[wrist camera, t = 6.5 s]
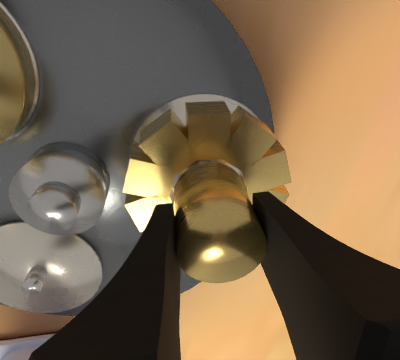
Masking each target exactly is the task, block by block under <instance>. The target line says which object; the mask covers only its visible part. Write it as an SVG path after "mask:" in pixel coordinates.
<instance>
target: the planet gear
mask: <svg viewBox="0 0 400 360" xmlns="http://www.w3.org/2000/svg"><path fill="white" fill-rule="evenodd" d="M185 110H186V126H185V125H184V124H183V122H182V121H181V120H180V119H179V117H178V116H177V115H176V114H175V113H174V111H173V110H172V109H171V108H170V109H168V110H167V111H166V112H164V113H163V114H162V115H161V116H159V117H158V118H157V119H155V120H154V121H153V122H152V123H150V124H149V125H148V126H146V127H145V128H144V129H143V130H141V133H140V139H139V144H137V143H133V146H132V150H131V155H130V159H129V163H128V168H127V172H126V177H125V182H124V187H123V193H127V194H126V200H125V207H126V208H127V210H128V212H129V214H130V215H131V217H132V219H133V220H134V222H135V224H136V226H137V227H138V229H139V231H140V232H142V231H144V229H145V227H146V225H147V223H148V221H149V219H150V217H151V214H152V212H153V209H154V207H155V206H156V205H157V204H165V203H173V207H174V214H175V228H176V251H177V260H178V263H179V265H180V267H181V268H182V270H183V271H184V272H185V273H186V274H188V275H189V276H190V277H192V278H194V279H196V280H199V281H203V282H208V283H224V282H229V281H233V280H236V279H239V278H241V277H243V276H245V275H247V274H248V273H250V272H251V271H253V270H254V269H255V268H256V267H257V266H258V265H259V264H260V262H261V261H262V259H263V257H264V255H265V253H266V248H267V242H266V237H265V234H264V232H263V230H262V227H261V225H260V222H259V220H258V218H257V215H256V213H255V210H254V208H253V206H252V198H253V193H258V192H266V191H269V192H270V193H271V194H273V195H274V196H275V197H276V198H278V199H279V200H280V201H281V202H283V203H284V204H285V202H286V200H287V198H288V196H289V193H288V191H287V190H286V188H285V186H284V184H287V183H290V182H291V177H290V172H289V167H288V162H287V157H286V153H285V150H284V148H283V147H282V146H281V145H280V143H279V142H278V141H277V138H276V136H275V135H274V134H273V133H272V131H271V130H270V129H269V127H268V126H267V125H266V124H264V123H263V122H262V121H260V120H259V119H257V118H256V117H255V116H253V115H252V114H250V113H249V112H248V111H246V110H245V109H243V108H242V107H241V106H239V105H238V106H237V108H236V109H235V110H234V112H233V113H232V114H231V112H230V110H229V109H228V107H227V105H226V103H225V101H209V102H185ZM217 159H222V160H224V161H226V162H227V163H229V164H231V165H232V166H234V167H236V168H237V169H239V171H240V176H239V174H238V173H237V172H236V171H235V170H234V169H232V168H231V167H229V166H227V165H225V164H222V163H217V162H206V163H201V164H198V165H195V166H193V167H191V168H189V169H188V170H186V171H185V172H184V173H183V174H182V175H181V176H180V177H179V179H178V180H177V182H176V184H175V187H174V188H173V186H172V185H173V182H174V179H175V176H176V175H177V174H178V173H179V172H181V171H182V170H184V169H185V168H186V167H188V166H189V165H191V164H192V163H194V162H195V161H199V160H217Z"/></svg>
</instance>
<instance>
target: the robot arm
mask: <svg viewBox="0 0 400 360" xmlns="http://www.w3.org/2000/svg"><path fill="white" fill-rule="evenodd" d="M252 206H253V208H254V210H255V213H256V215H257V218H258V220H259V222H260V225H261V227H262V230H263V232H264V234H265V237H266V242H267V248H266V253H265V255H264V257H263V259H262V261H261V262H260V263H261V265H262V267H263V270H264V272H265V275H266V277H267V279H268V282H269V284H270V286H271V289H272V291H273V293H274V296H275V298H276V300H277V303H278V305H279V307H280V310H281V312H282V315H283V318H284V321H285V324H286V327H287V330H288V333H289V336H290V340H291V343H292V346H293V349H294V353H295V356H296V360H400V269H398V268H395V267H393V266H390V265H388V264H385V263H383V262H381V261H378V260H376V259H374V258H372V257H370V256H367V255H365V254H363V253H361V252H359V251H357V250H355V249H353V248H351V247H349V246H347V245H345V244H344V243H342V242H340V241H338V240H336V239H335V238H333V237H331V236H329V235H328V234H326V233H325V232H323V231H322V230H320V229H318V228H317V227H315V226H314V225H312V224H311V223H309V222H308V221H307V220H305V219H304V218H302V217H301V216H300V215H298V214H297V213H296V212H294V211H293V210H292V209H290V208H289V207H288V206H286V205H285V204H284V203H283V202H281V201H280V200H279V199H278V198H276V197H275V196H274V195H273V194H271V193H270V192H269V191H266V192H258V193H253V198H252ZM180 278H181V267H180V265H179V263H178V260H177V251H176V228H175V214H174V207H173V203H165V204H157V205H156V206H155V207H154V209H153V212H152V214H151V217H150V219H149V221H148V223H147V225H146V227H145V229H144V231H143V233H142V235H141V236H140V238H139V240H138V242H137V244H136V245H135V247H134V248H133V250H132V251H131V253H130V254H129V256H128V258H127V259H126V260H125V262H124V263H123V265H122V266H121V267H120V269H119V270H118V271H117V273H116V274H115V275H114V276H113V278H112V279H111V280H110V281H109V282H108V284H107V285H106V286H105V287H104V288H103V289H102V290H101V292H100V293H99V294H98V295H97V296H96V297H95V298H94V299H93V300H92V301H91V302H90V303H89V304H88V305H87V306H86V307H85V308H84V309H83V310H82V311H81V312H80V313H79V314H78V315H77V316H76V317H75V318H73V319H72V320H71V321H70V322H69V323H68V324H67V325H66V326H64V327H63V328H62V329H61V330H60V331H58V332H57V333H55V334H48V335H40V336H33V337H26V338H18V339H11V340H4V341H0V360H181V353H180V337H179V312H180Z"/></svg>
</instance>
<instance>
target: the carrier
mask: <svg viewBox="0 0 400 360" xmlns="http://www.w3.org/2000/svg"><path fill="white" fill-rule="evenodd" d="M209 101H225V103H226V105H227V107H228V109H229V110H230V112H231V114H232V113H233V112H234V110H235V109H236V108H237V106H238V105H239V106H241V107H242V108H243V109H245V110H246V111H248V112H249V113H250V114H252V115H253V116H255V117H256V118H257V119H259V120H260V121H262V122H263V123H264V124H266V125H267V126H268V127H269V129H270V130H271V131H272V133H273V134H274V128H273V122H272V116H271V110H270V104H269V101H268V98H267V95H266V91H265V88H264V85H263V82H262V79H261V76H260V74H259V72H258V70H257V68H256V66H255V63H254V61H253V59H252V57H251V55H250V53H249V51H248V49H247V47H246V46H245V44H244V43H243V41H242V40H241V38H240V37H239V35H238V34H237V32H236V30H235V29H234V27H233V26H232V24H231V23H230V21H229V20H228V19H227V18H226V17H225V16H224V14H223V13H222V12H221V11H220V10H219V9H218V7H217V6H216V5H215V4H214V3H213V2H212V0H0V304H2V305H6V306H10V307H13V308H16V309H19V310H23V311H28V312H35V313H46V314H55V315H69V316H77V315H78V314H79V313H80V312H81V311H82V310H83V309H84V308H85V307H86V306H87V305H88V304H89V303H90V302H91V301H92V300H93V299H94V298H95V297H96V296H97V295H98V294H99V293H100V292H101V290H102V289H103V288H104V287H105V286H106V285H107V284H108V282H109V281H110V280H111V279H112V278H113V276H114V275H115V274H116V273H117V271H118V270H119V269H120V267H121V266H122V265H123V263H124V262H125V260H126V259H127V258H128V256H129V254H130V253H131V251H132V250H133V248H134V247H135V245H136V244H137V242H138V240H139V238H140V236H141V235H142V233H143V231H142V232H140V231H139V229H138V227H137V226H136V224H135V222H134V220H133V219H132V217H131V215H130V214H129V212H128V210H127V208H126V207H125V200H126V194H127V193H123V187H124V182H125V177H126V172H127V168H128V163H129V159H130V155H131V150H132V146H133V143H137V144H139V139H140V133H141V130H143V129H144V128H145V127H146V126H148V125H149V124H150V123H152V122H153V121H154V120H155V119H157V118H158V117H159V116H161V115H162V114H163V113H164V112H166V111H167V110H168V109H170V108H171V109H172V110H173V111H174V113H175V114H176V115H177V116H178V117H179V119H180V120H181V121H182V122H183V124H184V125H185V126H186V110H185V102H209ZM206 162H217V163H222V164H225V165H227V166H229V167H231V168H232V169H234V170H235V171H236V172H237V173H238V174H239V176H240V171H239V169H237V168H236V167H234V166H232V165H231V164H229V163H227V162H226V161H224V160H222V159H217V160H199V161H195V162H194V163H192V164H191V165H189V166H188V167H186V168H185V169H184V170H182V171H181V172H179V173H178V174H177V175H176V176H175V179H174V182H173V185H172V186H173V188H174V187H175V184H176V182H177V180H178V179H179V177H180V176H181V175H182V174H183V173H184V172H185V171H186V170H188V169H189V168H191V167H193V166H195V165H198V164H201V163H206ZM200 282H202V281H199V280H196V279H194V278H192V277H190V276H189V275H188V274H186V273H185V272H184V271H183V270H182V268H181V278H180V294H181V293H183V292H185V291H187V290H189V289H190V288H192V287H194V286H195V285H197V284H198V283H200Z"/></svg>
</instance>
